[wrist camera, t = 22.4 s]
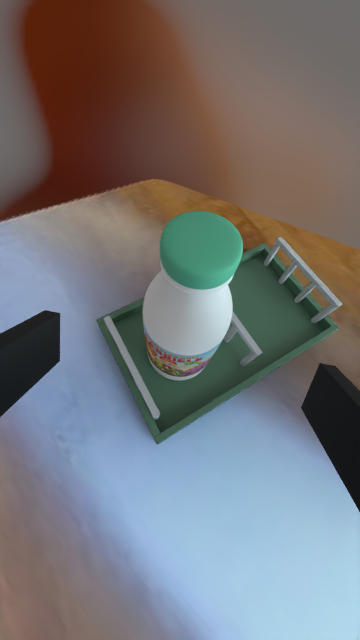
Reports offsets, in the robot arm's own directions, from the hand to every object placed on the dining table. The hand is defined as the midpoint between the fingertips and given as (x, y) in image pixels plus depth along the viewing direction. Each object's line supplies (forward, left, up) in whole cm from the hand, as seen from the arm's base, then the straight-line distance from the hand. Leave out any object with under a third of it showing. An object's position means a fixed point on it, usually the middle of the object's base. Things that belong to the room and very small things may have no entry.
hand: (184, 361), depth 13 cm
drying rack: (-10, -5, -19) cm, 22 cm away
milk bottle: (-4, -5, -18) cm, 19 cm away
